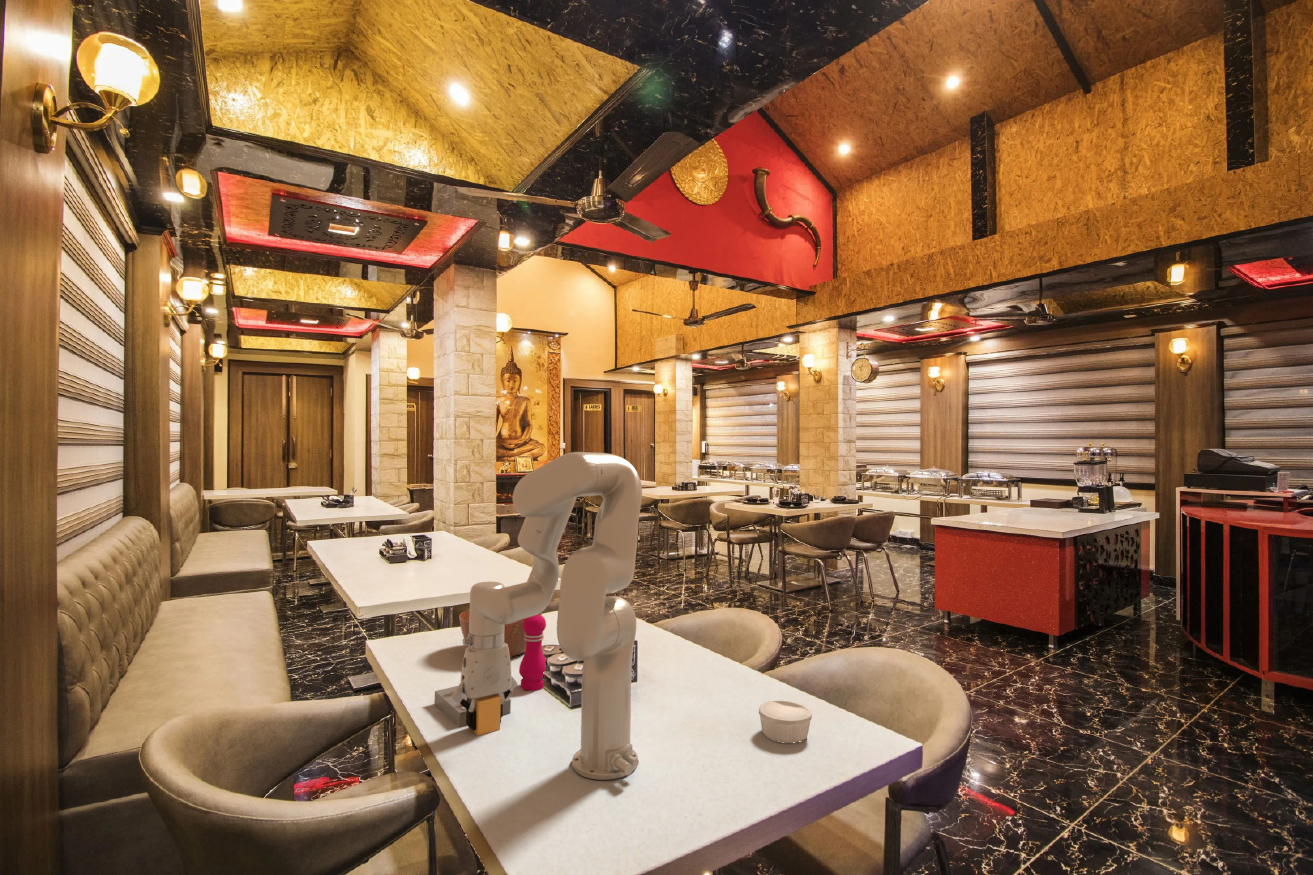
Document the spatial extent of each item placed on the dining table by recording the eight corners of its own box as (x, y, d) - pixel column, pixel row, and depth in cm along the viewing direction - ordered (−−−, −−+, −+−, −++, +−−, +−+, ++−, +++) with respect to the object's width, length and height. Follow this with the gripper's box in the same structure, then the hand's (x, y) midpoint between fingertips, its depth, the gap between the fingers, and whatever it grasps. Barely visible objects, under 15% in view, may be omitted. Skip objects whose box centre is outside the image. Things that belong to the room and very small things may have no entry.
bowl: (518, 635, 201) (519, 601, 202) (556, 653, 182) (557, 615, 182) (445, 648, 185) (446, 611, 186) (477, 670, 166) (479, 628, 167)
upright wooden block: (500, 729, 129) (500, 696, 129) (477, 735, 126) (478, 701, 126) (490, 721, 133) (491, 689, 133) (468, 727, 130) (469, 694, 130)
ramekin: (812, 727, 132) (812, 703, 132) (811, 750, 121) (811, 723, 122) (761, 720, 135) (761, 697, 135) (756, 742, 124) (756, 716, 125)
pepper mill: (550, 682, 157) (552, 605, 158) (542, 692, 150) (544, 612, 151) (523, 680, 158) (525, 604, 159) (514, 690, 151) (516, 611, 152)
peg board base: (510, 713, 137) (511, 677, 138) (459, 726, 130) (460, 689, 130) (482, 692, 150) (483, 660, 150) (434, 703, 142) (435, 669, 143)
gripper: (454, 651, 122) (451, 742, 121) (529, 637, 133) (528, 720, 132) (441, 642, 128) (439, 729, 127) (514, 629, 138) (512, 709, 138)
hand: (484, 723), depth 129 cm, fingers closed on upright wooden block, 4 cm apart
